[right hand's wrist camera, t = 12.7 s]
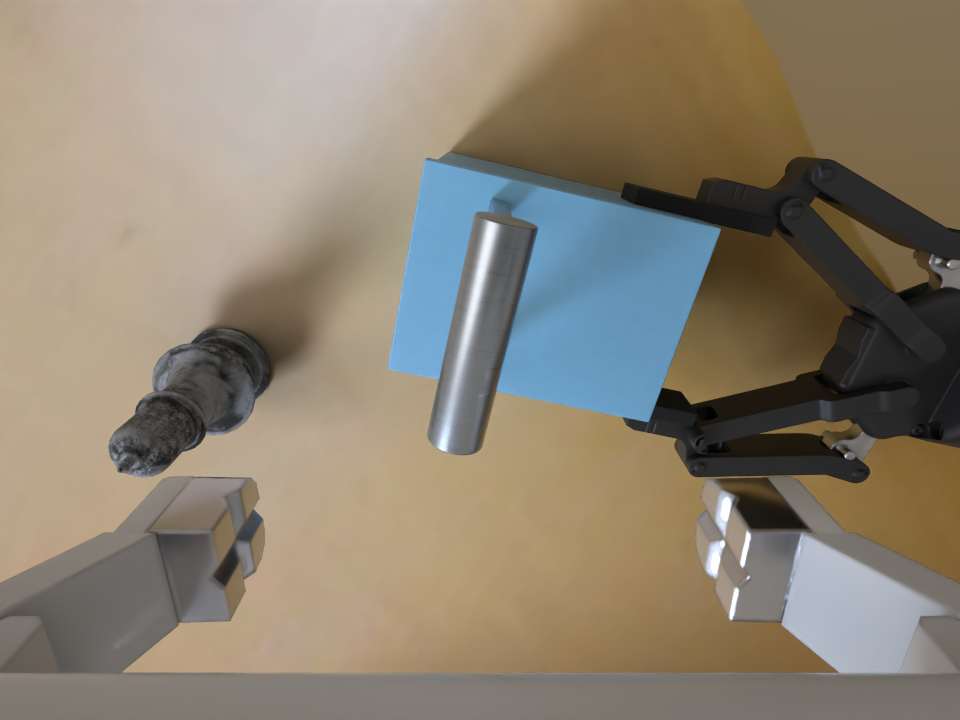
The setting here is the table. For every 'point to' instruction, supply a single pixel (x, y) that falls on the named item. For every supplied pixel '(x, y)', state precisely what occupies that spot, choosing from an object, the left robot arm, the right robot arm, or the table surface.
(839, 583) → the right robot arm
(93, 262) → the table surface
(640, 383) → the lid
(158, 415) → the dark grey turned figure
